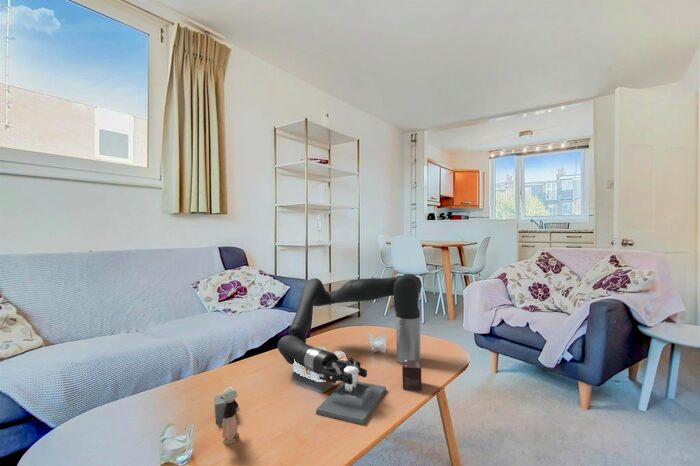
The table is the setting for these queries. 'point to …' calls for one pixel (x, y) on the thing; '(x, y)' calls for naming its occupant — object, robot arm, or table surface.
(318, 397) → the table surface
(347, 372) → the milkshake
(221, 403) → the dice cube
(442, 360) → the table surface
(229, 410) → the grandmother figurine
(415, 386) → the box
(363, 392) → the dock
